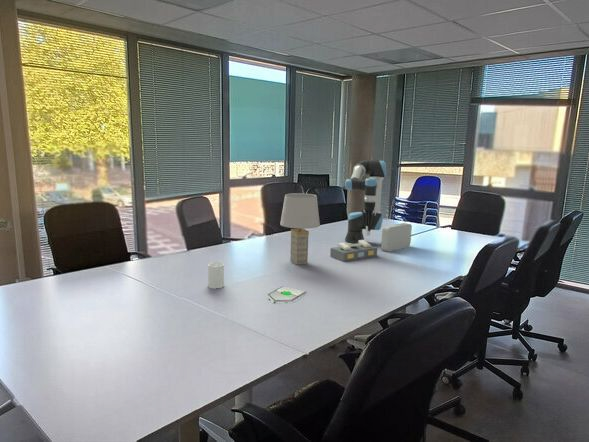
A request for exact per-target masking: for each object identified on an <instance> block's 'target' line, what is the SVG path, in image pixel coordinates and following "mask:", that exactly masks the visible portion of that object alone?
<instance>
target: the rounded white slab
mask: <svg viewBox="0 0 589 442" xmlns="http://www.w3.org/2000/svg"><path fill="white" fill-rule="evenodd" d="M411 241H412V224H411V223H406V222H403V223H397V224H391V225H385V226H383V227H382V232H381V242H380V243H381V244H380V245H381V246H380V248H381V250H382V251H385V252H388V253H389V252H393V251H397V250H398V251H399V250H402V248H403V249H406V248H409V247H410V246H411V243H412V242H411Z"/></svg>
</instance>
